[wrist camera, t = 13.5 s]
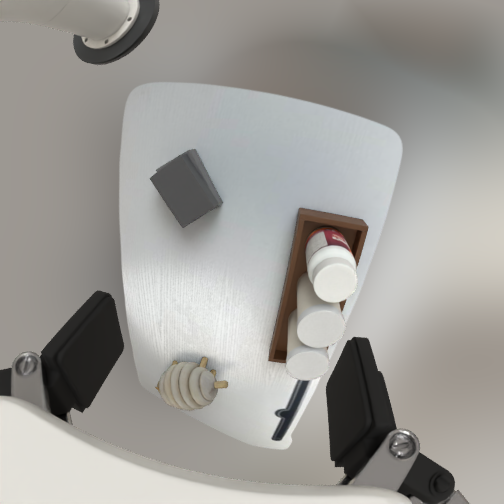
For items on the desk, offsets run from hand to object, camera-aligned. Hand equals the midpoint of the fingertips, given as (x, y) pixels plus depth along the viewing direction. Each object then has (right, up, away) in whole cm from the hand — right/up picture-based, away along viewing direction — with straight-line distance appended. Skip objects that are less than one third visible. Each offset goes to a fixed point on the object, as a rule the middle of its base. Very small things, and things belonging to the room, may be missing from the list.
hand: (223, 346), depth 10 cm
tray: (+11, -3, +34) cm, 36 cm away
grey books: (-8, +14, +29) cm, 33 cm away
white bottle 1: (+11, -2, +33) cm, 35 cm away
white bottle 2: (+10, -8, +36) cm, 38 cm away
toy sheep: (-11, -21, +46) cm, 52 cm away
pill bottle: (+12, +5, +30) cm, 33 cm away
